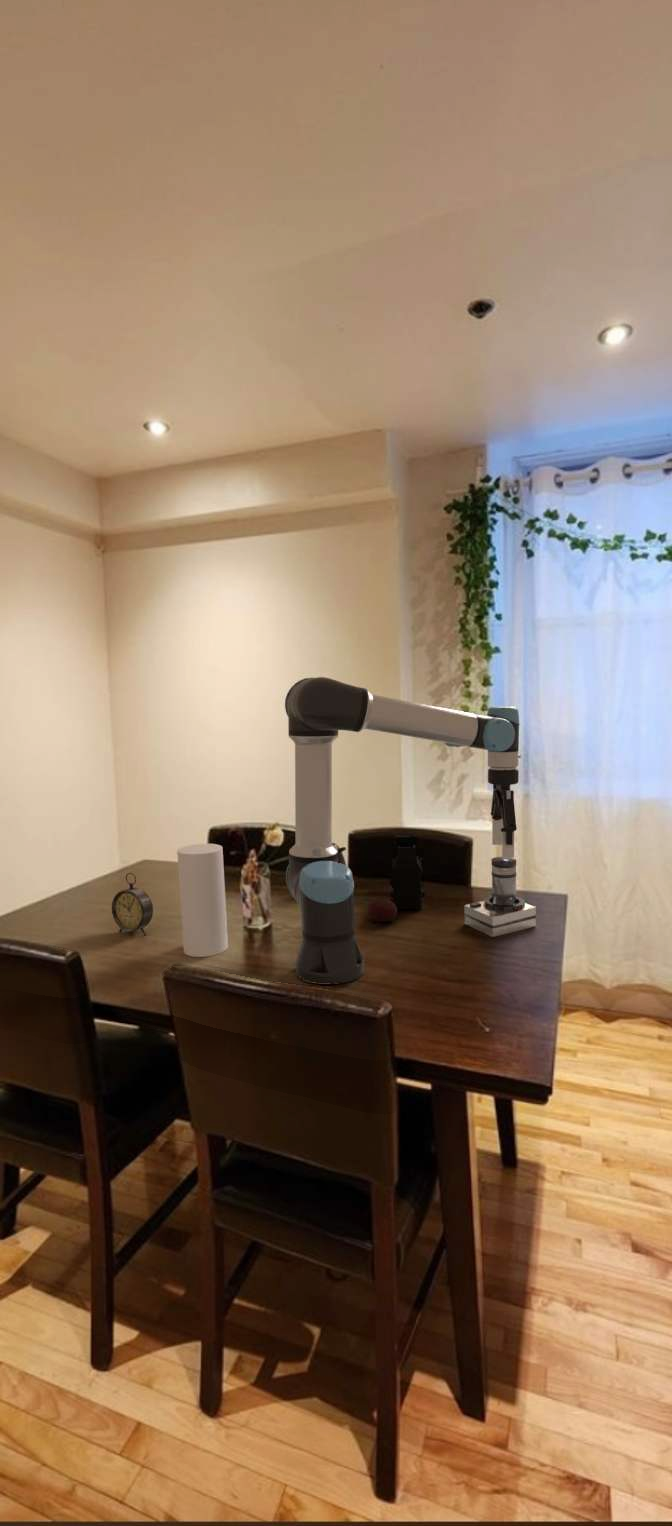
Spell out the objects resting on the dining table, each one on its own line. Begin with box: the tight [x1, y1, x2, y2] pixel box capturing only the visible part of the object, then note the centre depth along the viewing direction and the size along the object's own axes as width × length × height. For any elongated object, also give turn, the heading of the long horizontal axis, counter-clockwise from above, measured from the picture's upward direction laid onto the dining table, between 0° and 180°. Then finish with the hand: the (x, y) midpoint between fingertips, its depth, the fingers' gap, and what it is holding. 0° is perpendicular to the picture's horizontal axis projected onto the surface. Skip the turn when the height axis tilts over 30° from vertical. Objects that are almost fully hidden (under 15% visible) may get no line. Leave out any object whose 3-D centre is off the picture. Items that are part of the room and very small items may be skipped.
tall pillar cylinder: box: [176, 843, 229, 958], centre depth 164 cm, size 11×11×25 cm
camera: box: [389, 834, 426, 910], centre depth 193 cm, size 10×14×20 cm
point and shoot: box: [463, 895, 537, 938], centre depth 173 cm, size 14×11×6 cm
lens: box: [490, 856, 517, 905], centre depth 173 cm, size 6×6×12 cm
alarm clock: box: [111, 872, 154, 937], centre depth 177 cm, size 11×5×16 cm, turn 64°
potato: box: [367, 898, 398, 923], centre depth 179 cm, size 7×8×6 cm
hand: (502, 850), depth 172 cm, fingers open, 13 cm apart
